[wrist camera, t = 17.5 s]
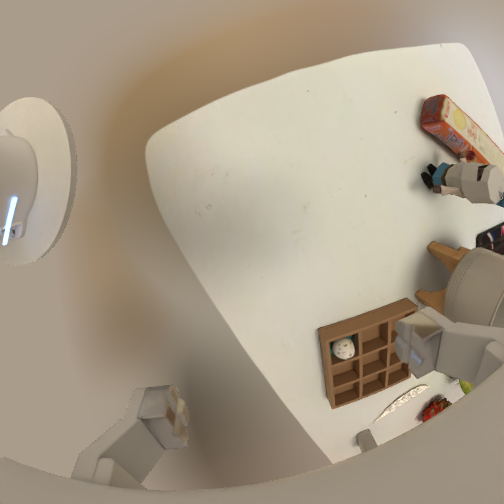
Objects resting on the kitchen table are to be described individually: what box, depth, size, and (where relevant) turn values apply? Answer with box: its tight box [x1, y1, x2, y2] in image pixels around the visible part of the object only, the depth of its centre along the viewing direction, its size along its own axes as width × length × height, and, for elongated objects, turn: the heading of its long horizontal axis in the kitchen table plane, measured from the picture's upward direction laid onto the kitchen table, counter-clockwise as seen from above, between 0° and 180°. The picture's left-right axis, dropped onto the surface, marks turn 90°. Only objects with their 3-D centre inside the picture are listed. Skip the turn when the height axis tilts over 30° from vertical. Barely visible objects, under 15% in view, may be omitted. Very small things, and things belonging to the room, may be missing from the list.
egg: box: [332, 337, 355, 360], centre depth 36 cm, size 3×3×5 cm
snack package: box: [421, 94, 504, 175], centre depth 30 cm, size 21×7×7 cm, turn 69°
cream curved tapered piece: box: [374, 385, 429, 423], centre depth 45 cm, size 15×4×2 cm, turn 116°
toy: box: [421, 152, 504, 208], centre depth 27 cm, size 9×6×15 cm
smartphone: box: [477, 223, 504, 255], centre depth 38 cm, size 7×1×15 cm
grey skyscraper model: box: [357, 429, 377, 453], centre depth 43 cm, size 3×5×12 cm, turn 18°
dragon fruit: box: [423, 398, 452, 423], centre depth 46 cm, size 8×8×12 cm
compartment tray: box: [318, 298, 418, 409], centre depth 39 cm, size 16×16×3 cm
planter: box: [416, 241, 504, 328], centre depth 30 cm, size 13×13×18 cm
